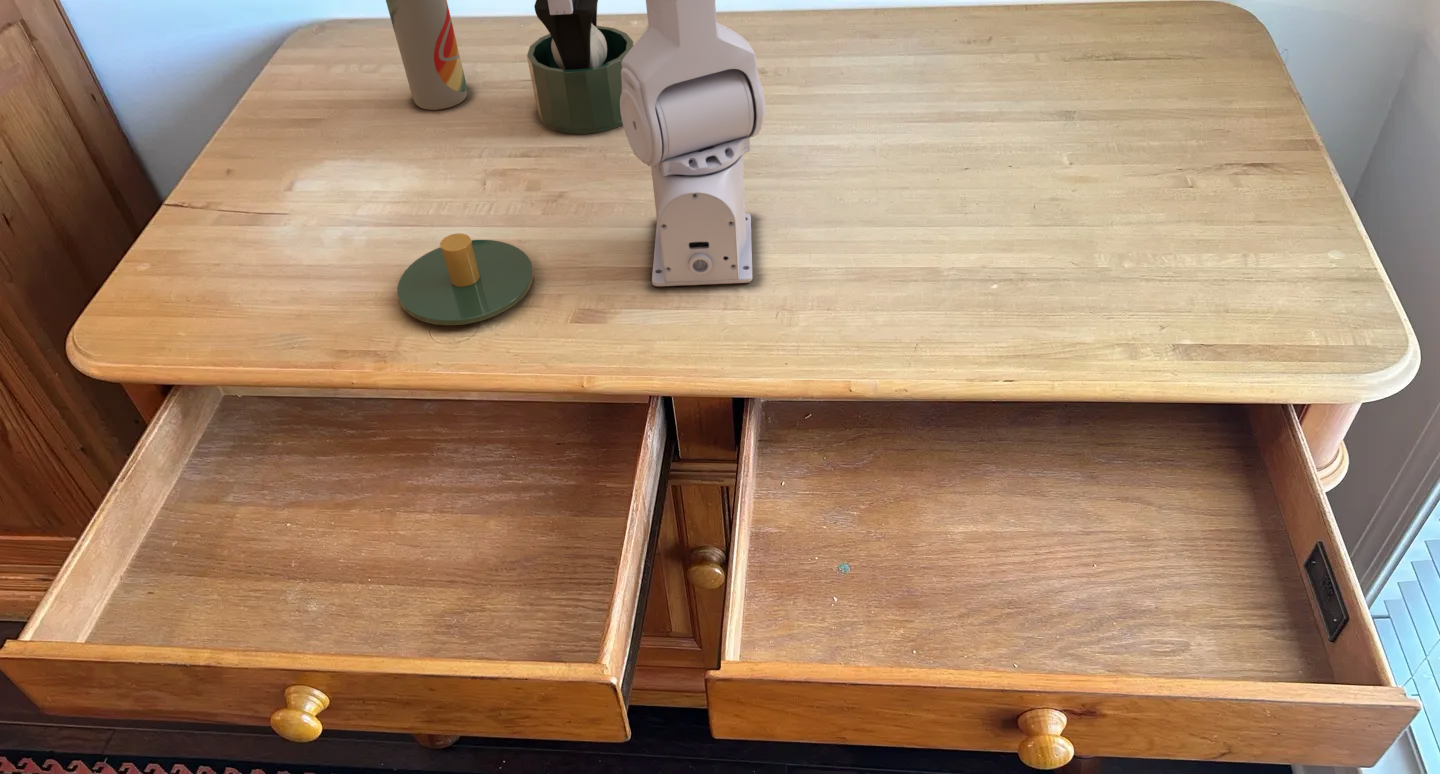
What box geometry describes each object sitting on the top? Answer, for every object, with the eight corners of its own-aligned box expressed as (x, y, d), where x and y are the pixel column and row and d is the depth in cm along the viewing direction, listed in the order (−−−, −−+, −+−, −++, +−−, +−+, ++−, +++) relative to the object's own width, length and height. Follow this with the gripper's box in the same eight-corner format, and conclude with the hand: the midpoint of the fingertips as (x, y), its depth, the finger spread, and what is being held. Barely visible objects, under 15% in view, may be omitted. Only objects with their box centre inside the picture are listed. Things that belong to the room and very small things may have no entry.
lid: (524, 328, 81) (513, 280, 78) (386, 334, 81) (369, 286, 78) (542, 247, 89) (533, 200, 86) (416, 252, 89) (402, 206, 86)
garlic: (623, 69, 103) (617, 18, 100) (579, 89, 101) (571, 36, 97) (586, 52, 107) (578, 1, 103) (542, 70, 104) (533, 19, 101)
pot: (636, 131, 103) (628, 69, 98) (532, 136, 103) (520, 74, 99) (642, 83, 110) (635, 23, 106) (545, 88, 111) (535, 28, 106)
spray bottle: (479, 89, 111) (433, -111, 98) (447, 114, 107) (395, -90, 94) (435, 82, 113) (384, -116, 100) (402, 106, 109) (345, -96, 96)
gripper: (526, -113, 99) (550, 27, 108) (502, -56, 88) (530, 93, 98) (600, -117, 99) (618, 23, 108) (585, -61, 88) (606, 89, 97)
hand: (581, 56), depth 103 cm, fingers closed on garlic, 5 cm apart
